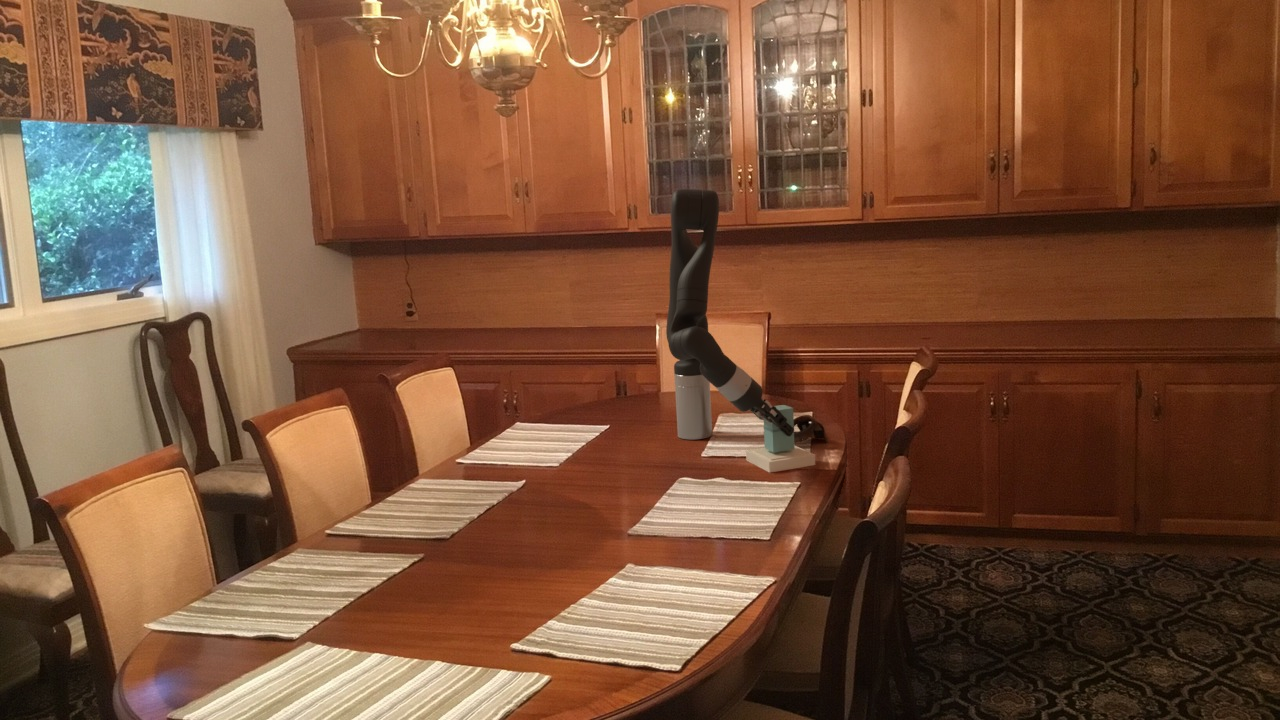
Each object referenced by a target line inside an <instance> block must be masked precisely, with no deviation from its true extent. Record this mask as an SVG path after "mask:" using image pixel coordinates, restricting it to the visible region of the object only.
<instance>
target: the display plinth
mask: <svg viewBox="0 0 1280 720" xmlns="http://www.w3.org/2000/svg"><path fill="white" fill-rule="evenodd" d="M794 447H795V449H794V450H788V451H781V452H775V453H773V452H771V451H769V450H767V449H765V447H760V448H753V449H747V450H745V455H746V457H745V459H746V461H747V462H749V463H750V464H752V465H754V466H756V467H757V468H760V469H761V470H764V471H766V472H768V473H769V474H771V473H777V472H781V471H788V470H793V469H800V468H804V467H805V468H806V467H810V466H811V467H812V466H816V454H814V453H812V452H810V451H808V450H805V449H804V448H801V447H799V446H797V445H795V444H794Z"/></svg>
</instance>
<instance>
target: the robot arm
mask: <svg viewBox="0 0 1280 720" xmlns="http://www.w3.org/2000/svg"><path fill="white" fill-rule="evenodd" d="M719 199H720V198H719V195H718V193H717V191H715V190H708V189H703V190H702V189H691V188H690V189H689V188H681V189H677V190H675V191H674V193H673V194H672V197H671V202H670V231H671V249H670V250H671V251H670V263H669V264H670V265H669V301H668V310H667V311H668V312H667V318H666V328H665V329H666V332H665V333H666V340H667V343H668V348H669V352H670V354H671V355H672V357H673V358H675V359H676V360H677V361H676V362H675V363H674V365H673V371H674V387H675V388H674V389H675V392H674V394H675V407H676V409H675V410H676V425H677V427H676V429H677V437H678V438H679V439H683V440H701V439H707V438H710V437H711V436H712V435H713V429H712V428H713V427H712V406H711V405H712V402H711V385H712V386H714V388H715V389H716V390H717V391H718V392H719V393H720V394H721V395H722V396H723V397H724V398H725V399H726V400H727V401H729V402H730V404H732V405H733V406H734V407H735V408H737V410H739V411H740V412H743V413H745V412H748V411H749V412H750V413H751V414H753V415H755V417H757V418H758V419H759V420H760V421H764V419H765V420H766V421H767V422H768V423H773V424H774V425H775V426H776V427H777V428H779V429H780V430H781V431H782V432H783V433H785V434H786V435H787V436H791V435H792V433H793V432H795V427H794V428H792V427H791V426H790V425H789V424H788V423H787V422H786V421H787V418H785V417H784V416H783V415H782V414H781V413H780V411H779V410H778V409H777V408H776V407H774V406H775V405H772V404H771V402H770V401H768V400H767V399H763V394H764V390H763V386H761V385H760V384H759V383H758V381H756V380H755V379H754V378H753V377H751V375H749V374H748V373H747V372H746V371H745V370H744V369H743V368H741V367H740V366H738V365H737V364H736V363H735V362H734V361H733V360H732V359H731V358H729V357H728V356H727V355H726V354H725V353H724V351H723V349H722V348H721V346H720V345H719V344H718V342H717V340H716V339H715V338H714V335H712V333H710V332H709V321H708V318H707V311H708V301H709V300H708V299H709V283H710V282H709V281H710V274H711V273H710V272H711V268H712V261H713V257H714V251H715V243H716V238H717V232H718V224H719V216H720V200H719ZM690 230H692V231H703V234H702V236H701V237H702V238H701V241H700V244H699V246H697V245H696V243H694V241H693V240H692V238H691V237H690V236H689V233H688V231H690ZM768 417H770V418H769V419H768Z"/></svg>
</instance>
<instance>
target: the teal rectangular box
mask: <svg viewBox="0 0 1280 720" xmlns="http://www.w3.org/2000/svg"><path fill="white" fill-rule="evenodd" d="M773 406H774V407H776V408H777V409H778V410H779V411H780V413H781V414H782V415H783V416H784V417H785V418H787V421H786V422H787V423H788V424H789V425H790V426H791V427H792V428H794V429H795V426H794V419H795V418H794V407H792V406H789V405H785V404H781V405H773ZM769 418H770V417H768V419H769ZM794 432H795V431H794ZM794 432H793V433H792V435H791V436H787V435H786V434H785V433H783V432H782V431H781V430H780V429H779V428H777V427H776V426H775V425H774V424H773V423H768V422H767V421H766V420H765V419H764V420H763V434H764V435H763V436H764V437H763V438H764V441H763V442H764V448H765V449H767V450H769V451H771V452H773V453H775V452H781V451H788V450H794V449H795V447H794V445H795V442H794Z"/></svg>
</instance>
